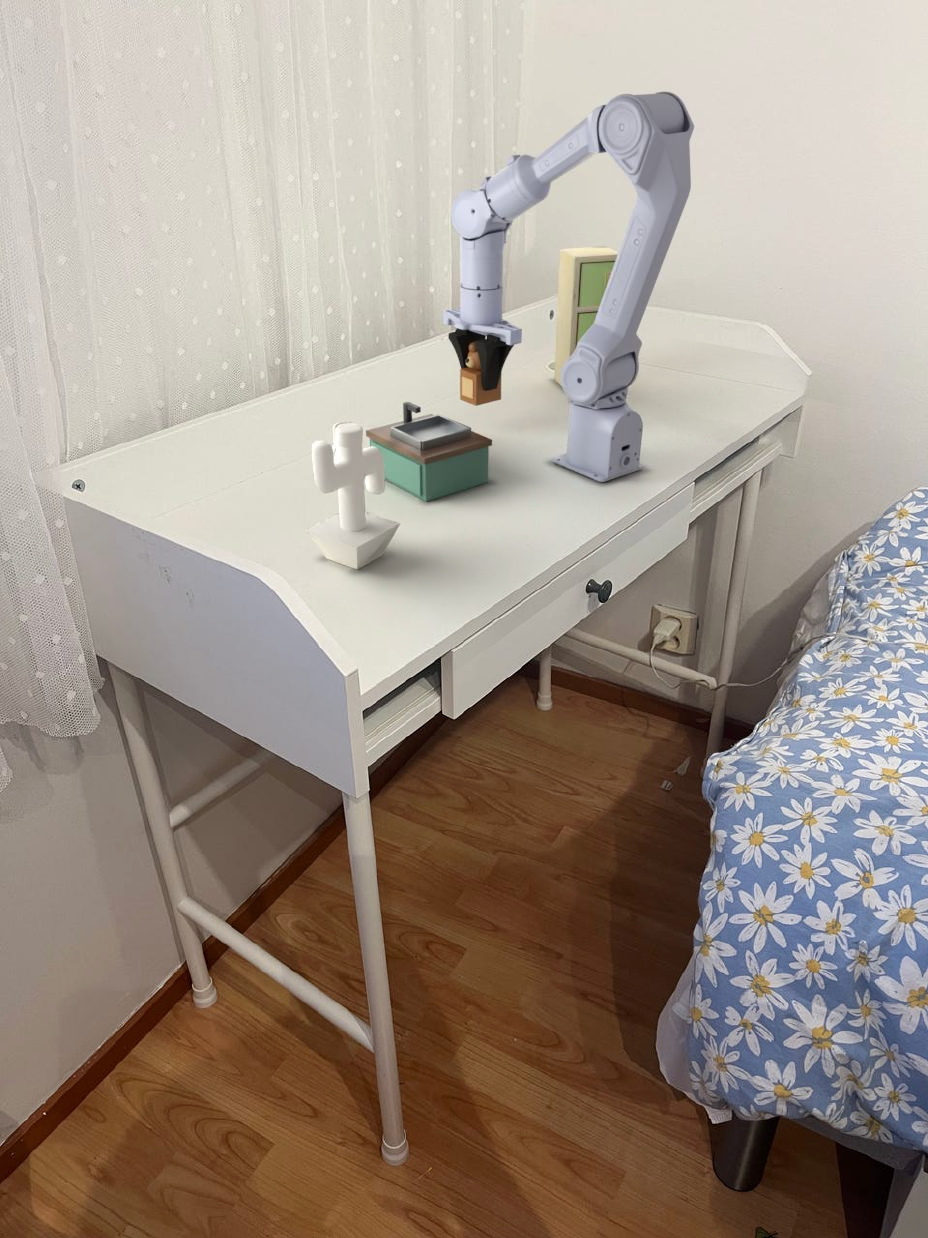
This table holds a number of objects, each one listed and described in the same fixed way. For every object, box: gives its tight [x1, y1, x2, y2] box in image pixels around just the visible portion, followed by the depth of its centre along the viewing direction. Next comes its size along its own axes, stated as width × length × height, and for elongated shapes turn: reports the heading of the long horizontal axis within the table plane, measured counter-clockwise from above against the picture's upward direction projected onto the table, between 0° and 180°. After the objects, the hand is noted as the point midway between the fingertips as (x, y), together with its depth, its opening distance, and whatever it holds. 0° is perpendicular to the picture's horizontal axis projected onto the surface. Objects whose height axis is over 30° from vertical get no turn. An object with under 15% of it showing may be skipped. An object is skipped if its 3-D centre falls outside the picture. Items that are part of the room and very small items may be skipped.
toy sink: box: [365, 401, 493, 502], centre depth 124 cm, size 13×11×9 cm
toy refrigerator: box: [553, 246, 619, 387], centre depth 155 cm, size 8×7×21 cm
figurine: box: [305, 420, 401, 570], centre depth 103 cm, size 7×9×15 cm
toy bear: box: [459, 342, 503, 407], centre depth 136 cm, size 4×5×8 cm
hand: (480, 385), depth 137 cm, fingers closed on toy bear, 3 cm apart
